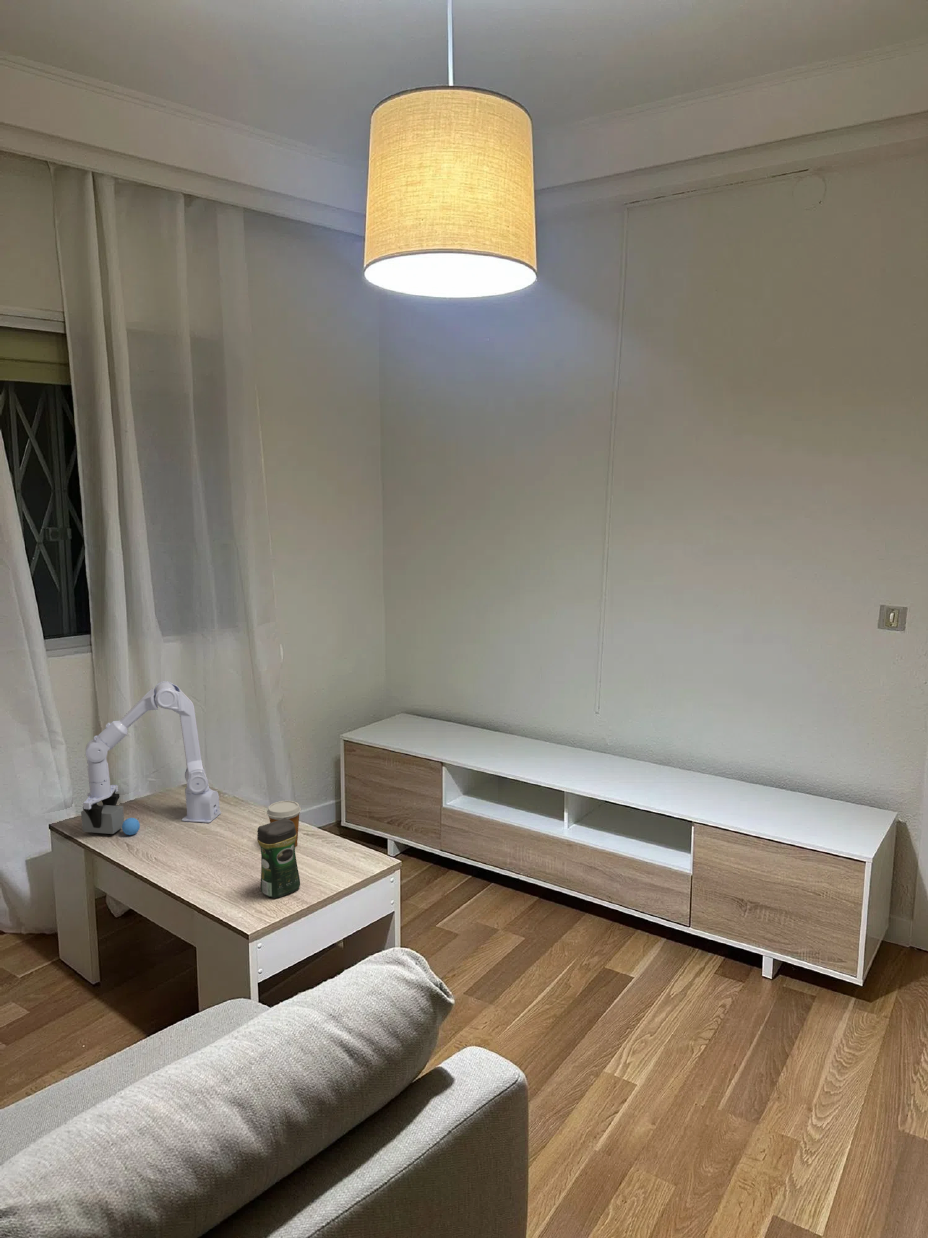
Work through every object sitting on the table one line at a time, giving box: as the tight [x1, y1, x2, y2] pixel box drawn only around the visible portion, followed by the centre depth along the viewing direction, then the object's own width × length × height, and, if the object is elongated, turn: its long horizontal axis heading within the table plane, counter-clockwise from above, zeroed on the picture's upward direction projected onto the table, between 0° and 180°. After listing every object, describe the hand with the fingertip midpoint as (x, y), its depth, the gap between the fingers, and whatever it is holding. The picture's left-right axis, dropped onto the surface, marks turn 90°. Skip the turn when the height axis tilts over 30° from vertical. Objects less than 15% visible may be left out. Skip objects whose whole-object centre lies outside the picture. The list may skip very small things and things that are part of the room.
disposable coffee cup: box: [266, 800, 302, 848], centre depth 254 cm, size 10×10×12 cm
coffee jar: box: [256, 818, 301, 899], centre depth 228 cm, size 10×8×19 cm
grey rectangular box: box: [80, 804, 125, 835], centre depth 266 cm, size 10×6×6 cm, turn 78°
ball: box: [121, 817, 141, 836], centre depth 265 cm, size 5×5×5 cm
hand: (103, 822), depth 267 cm, fingers closed on grey rectangular box, 6 cm apart
